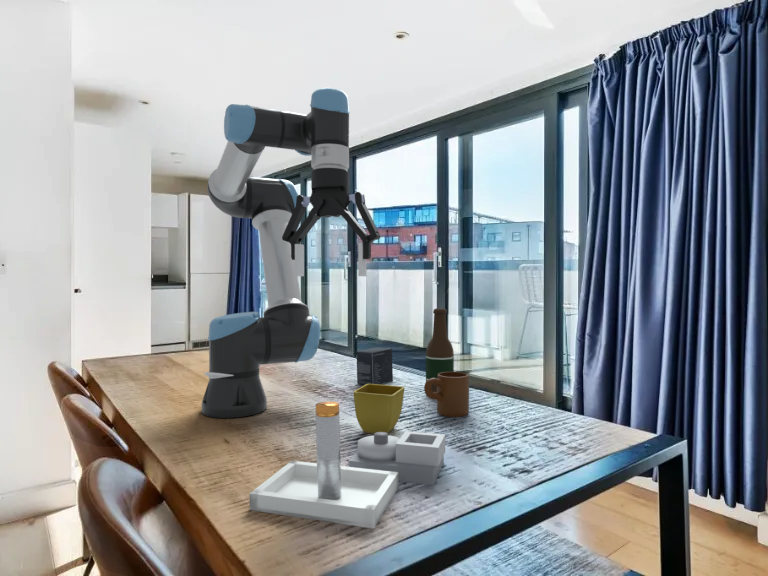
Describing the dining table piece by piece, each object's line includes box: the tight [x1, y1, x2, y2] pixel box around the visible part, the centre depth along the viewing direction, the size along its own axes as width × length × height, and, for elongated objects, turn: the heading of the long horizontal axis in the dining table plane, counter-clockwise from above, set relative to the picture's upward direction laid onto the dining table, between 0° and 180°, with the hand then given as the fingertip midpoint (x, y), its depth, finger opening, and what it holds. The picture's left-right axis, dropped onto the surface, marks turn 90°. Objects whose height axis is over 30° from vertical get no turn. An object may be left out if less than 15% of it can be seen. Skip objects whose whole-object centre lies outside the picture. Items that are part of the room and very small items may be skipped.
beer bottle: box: [425, 308, 455, 392], centre depth 138 cm, size 8×8×24 cm
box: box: [356, 346, 394, 386], centre depth 154 cm, size 11×7×10 cm, turn 144°
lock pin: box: [314, 401, 342, 500], centre depth 73 cm, size 3×3×13 cm
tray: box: [249, 460, 399, 529], centre depth 73 cm, size 18×13×2 cm
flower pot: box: [352, 384, 406, 434], centre depth 106 cm, size 9×9×9 cm
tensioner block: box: [348, 430, 446, 486], centre depth 85 cm, size 14×10×6 cm
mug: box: [423, 371, 470, 418], centre depth 119 cm, size 12×8×9 cm, turn 121°
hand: (330, 276), depth 101 cm, fingers open, 13 cm apart
